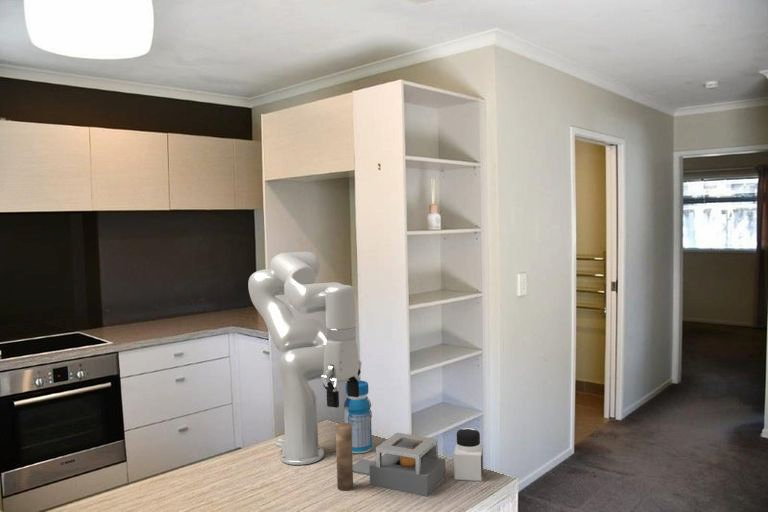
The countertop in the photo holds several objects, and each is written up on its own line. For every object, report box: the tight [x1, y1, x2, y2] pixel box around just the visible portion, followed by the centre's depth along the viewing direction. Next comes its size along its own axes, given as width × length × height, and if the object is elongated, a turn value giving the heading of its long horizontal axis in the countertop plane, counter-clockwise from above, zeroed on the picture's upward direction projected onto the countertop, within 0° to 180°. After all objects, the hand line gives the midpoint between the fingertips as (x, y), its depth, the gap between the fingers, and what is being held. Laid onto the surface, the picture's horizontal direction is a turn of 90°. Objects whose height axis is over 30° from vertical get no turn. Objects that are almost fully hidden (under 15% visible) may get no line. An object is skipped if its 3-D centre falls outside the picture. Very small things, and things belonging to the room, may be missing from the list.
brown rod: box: [335, 422, 354, 492], centre depth 149 cm, size 4×4×16 cm
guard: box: [375, 432, 439, 475], centre depth 152 cm, size 12×12×5 cm
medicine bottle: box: [453, 427, 484, 482], centre depth 155 cm, size 7×7×12 cm
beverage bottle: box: [343, 380, 373, 455], centre depth 175 cm, size 8×8×20 cm
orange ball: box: [400, 447, 416, 468], centre depth 152 cm, size 5×5×6 cm
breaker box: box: [369, 453, 447, 497], centre depth 152 cm, size 16×12×5 cm
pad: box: [353, 458, 376, 476], centre depth 161 cm, size 8×8×1 cm
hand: (343, 401), depth 148 cm, fingers open, 9 cm apart
